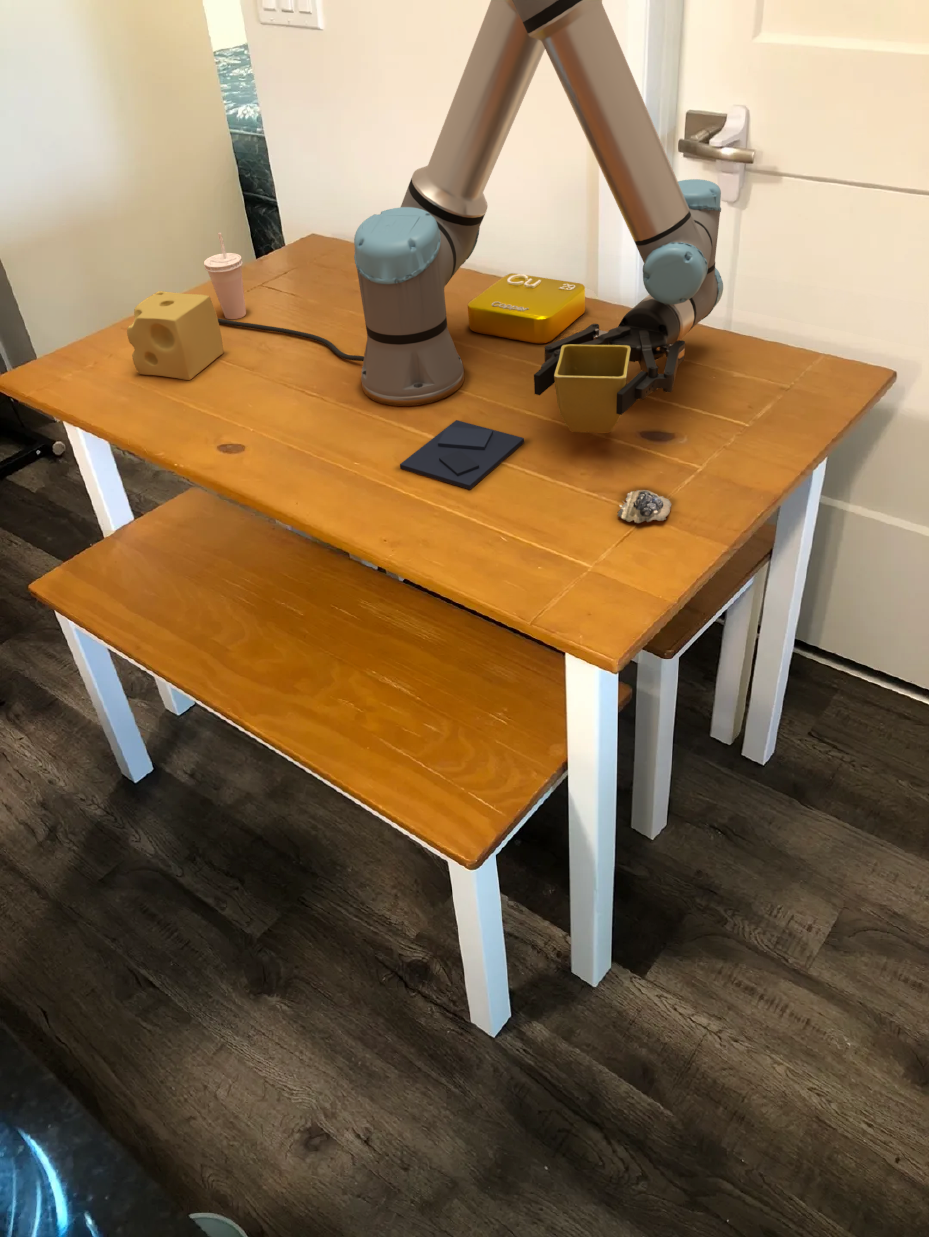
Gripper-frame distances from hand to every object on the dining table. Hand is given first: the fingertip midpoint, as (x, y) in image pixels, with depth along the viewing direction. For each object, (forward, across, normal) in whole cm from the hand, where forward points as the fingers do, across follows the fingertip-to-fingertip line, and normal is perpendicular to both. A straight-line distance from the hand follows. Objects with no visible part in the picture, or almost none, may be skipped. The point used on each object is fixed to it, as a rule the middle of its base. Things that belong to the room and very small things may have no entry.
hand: (577, 394), depth 121 cm
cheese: (+3, +70, -9) cm, 71 cm away
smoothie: (-15, +76, -9) cm, 78 cm away
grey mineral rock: (+7, -12, -9) cm, 17 cm away
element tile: (-34, +28, -9) cm, 45 cm away
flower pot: (-4, 0, -6) cm, 8 cm away
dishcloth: (+6, +14, -9) cm, 17 cm away
